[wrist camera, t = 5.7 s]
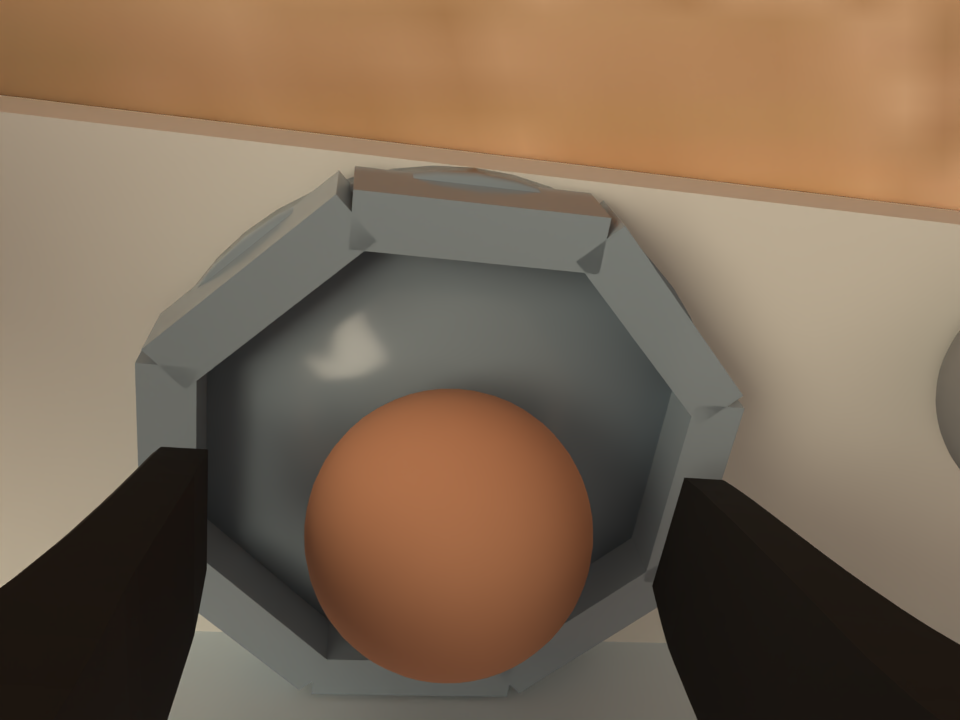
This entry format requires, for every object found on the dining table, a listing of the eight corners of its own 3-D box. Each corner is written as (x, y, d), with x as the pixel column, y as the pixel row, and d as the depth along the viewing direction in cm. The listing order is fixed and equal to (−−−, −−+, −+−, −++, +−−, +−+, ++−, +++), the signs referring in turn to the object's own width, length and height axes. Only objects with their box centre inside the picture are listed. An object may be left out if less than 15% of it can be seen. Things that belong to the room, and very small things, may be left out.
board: (849, 872, 23) (868, 909, 22) (-81, 893, 19) (-103, 939, 19) (1179, 237, 16) (1228, 256, 15) (-262, 62, 12) (-313, 75, 11)
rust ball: (541, 556, 15) (591, 752, 11) (308, 548, 14) (285, 750, 11) (583, 350, 13) (657, 505, 10) (320, 331, 13) (298, 489, 9)
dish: (633, 642, 17) (655, 702, 16) (158, 630, 16) (138, 696, 14) (763, 201, 13) (807, 232, 12) (147, 129, 12) (119, 155, 10)
